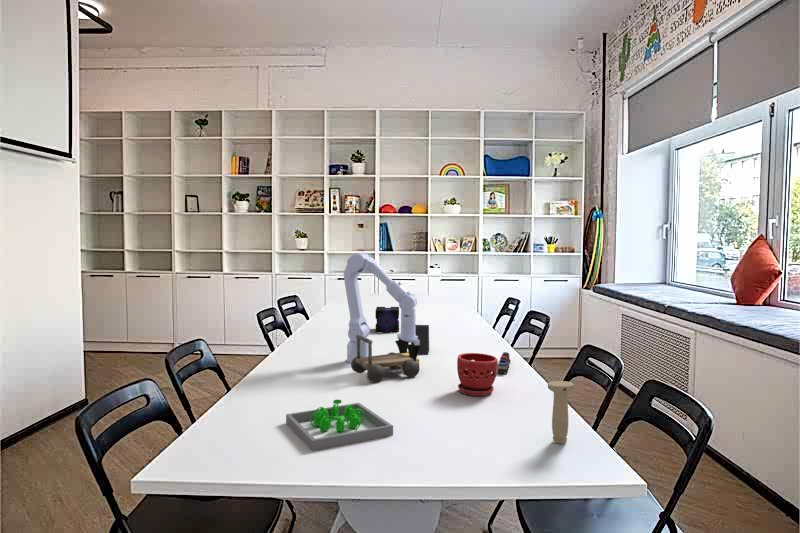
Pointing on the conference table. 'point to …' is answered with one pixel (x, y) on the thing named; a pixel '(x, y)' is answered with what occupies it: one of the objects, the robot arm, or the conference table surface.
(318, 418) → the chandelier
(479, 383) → the plant pot
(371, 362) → the trolley
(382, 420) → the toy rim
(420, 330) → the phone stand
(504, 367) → the toy train
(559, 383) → the handle
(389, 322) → the energy cube
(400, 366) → the yellow step block
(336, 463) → the conference table surface
